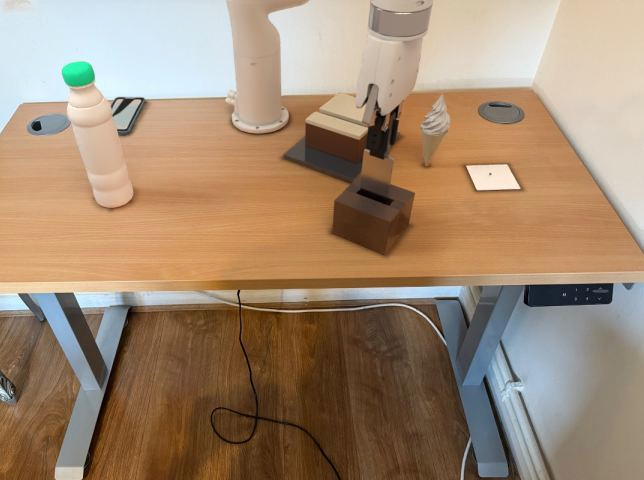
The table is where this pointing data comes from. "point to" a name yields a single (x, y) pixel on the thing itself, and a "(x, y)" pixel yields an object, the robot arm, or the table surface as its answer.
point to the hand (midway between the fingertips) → (380, 145)
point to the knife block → (372, 217)
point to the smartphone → (126, 112)
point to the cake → (344, 109)
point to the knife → (377, 170)
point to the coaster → (492, 177)
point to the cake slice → (335, 136)
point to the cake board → (324, 161)
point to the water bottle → (96, 137)
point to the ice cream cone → (434, 128)
